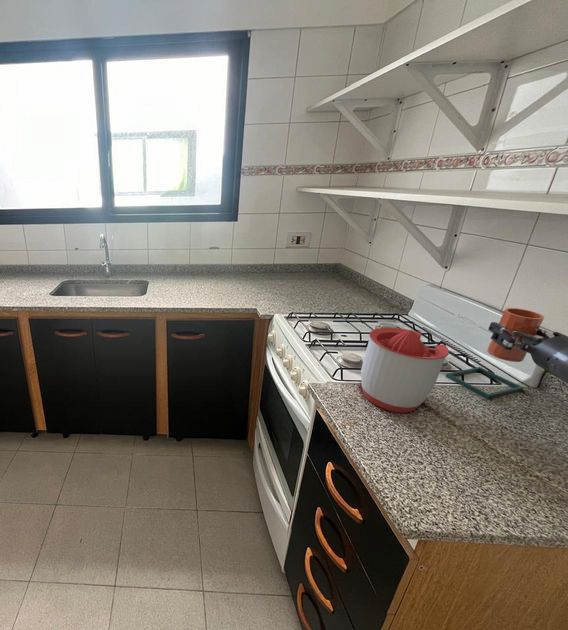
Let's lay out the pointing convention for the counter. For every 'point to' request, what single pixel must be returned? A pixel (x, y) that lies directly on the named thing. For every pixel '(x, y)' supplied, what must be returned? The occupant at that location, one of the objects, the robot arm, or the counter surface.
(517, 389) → the frame
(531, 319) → the tumbler
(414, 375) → the citrus juicer
